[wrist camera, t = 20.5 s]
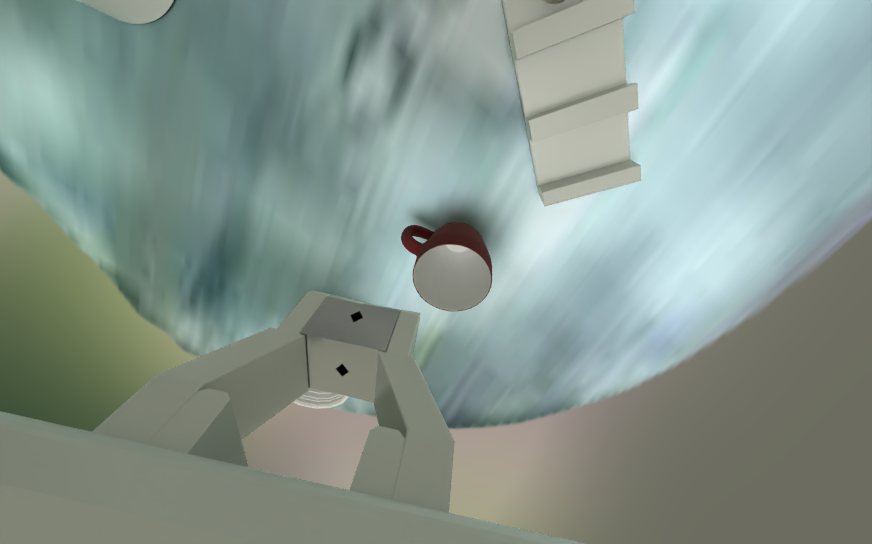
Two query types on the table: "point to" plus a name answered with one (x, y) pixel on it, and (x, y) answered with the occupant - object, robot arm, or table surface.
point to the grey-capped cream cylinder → (554, 1)
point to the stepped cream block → (574, 93)
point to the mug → (450, 265)
